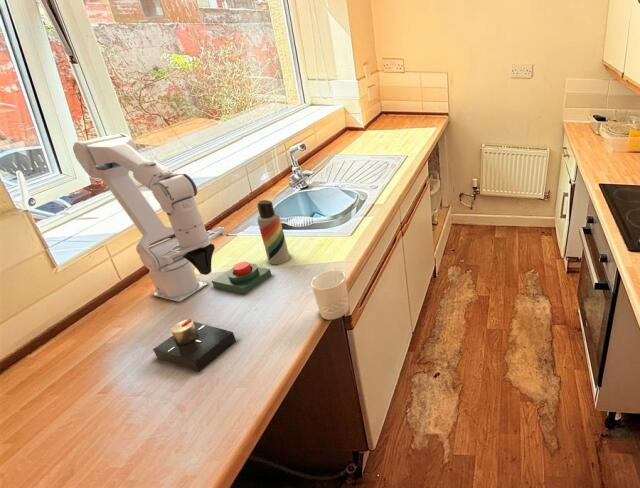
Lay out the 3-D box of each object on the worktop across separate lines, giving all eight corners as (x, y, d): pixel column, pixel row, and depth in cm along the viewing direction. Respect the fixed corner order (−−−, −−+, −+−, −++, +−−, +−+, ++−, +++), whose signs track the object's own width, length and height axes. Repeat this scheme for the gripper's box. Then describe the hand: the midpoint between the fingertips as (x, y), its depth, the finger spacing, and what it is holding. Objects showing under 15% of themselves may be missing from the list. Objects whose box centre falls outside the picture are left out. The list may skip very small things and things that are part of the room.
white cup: (341, 297, 108) (335, 266, 104) (357, 309, 104) (351, 278, 99) (312, 312, 102) (305, 280, 98) (328, 326, 98) (320, 293, 94)
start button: (231, 274, 111) (229, 268, 110) (243, 266, 114) (241, 260, 113) (242, 277, 110) (240, 270, 109) (254, 268, 113) (252, 262, 112)
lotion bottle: (264, 261, 123) (248, 203, 115) (282, 252, 127) (267, 195, 119) (276, 266, 120) (260, 207, 112) (293, 257, 125) (279, 199, 117)
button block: (213, 287, 111) (209, 275, 109) (241, 269, 119) (238, 258, 117) (245, 294, 108) (241, 282, 107) (271, 275, 116) (268, 264, 115)
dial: (185, 346, 88) (179, 333, 86) (171, 342, 88) (165, 329, 87) (202, 333, 91) (197, 320, 89) (188, 330, 92) (183, 317, 90)
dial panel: (157, 359, 88) (152, 348, 87) (196, 330, 96) (192, 320, 95) (199, 372, 85) (194, 361, 84) (236, 341, 93) (232, 331, 92)
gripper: (169, 242, 87) (189, 293, 93) (228, 213, 100) (243, 259, 105) (145, 238, 89) (167, 288, 94) (207, 210, 102) (222, 255, 107)
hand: (206, 272), depth 100 cm, fingers closed
